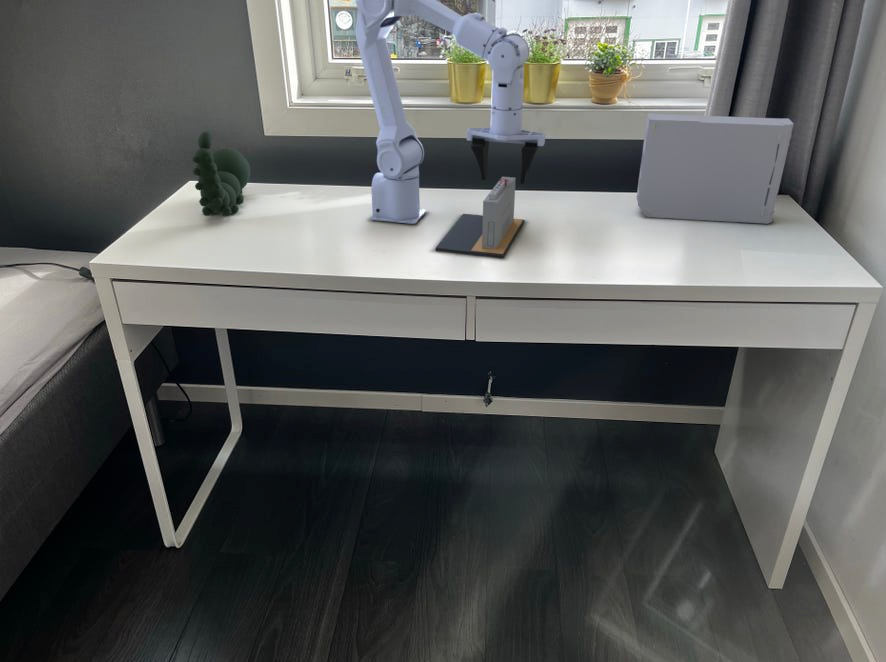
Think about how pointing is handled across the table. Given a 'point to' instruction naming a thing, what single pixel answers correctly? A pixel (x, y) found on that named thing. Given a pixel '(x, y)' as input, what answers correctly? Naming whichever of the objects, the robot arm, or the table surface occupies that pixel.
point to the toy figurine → (220, 177)
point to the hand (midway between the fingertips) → (503, 180)
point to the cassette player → (498, 212)
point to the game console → (712, 167)
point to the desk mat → (476, 237)
